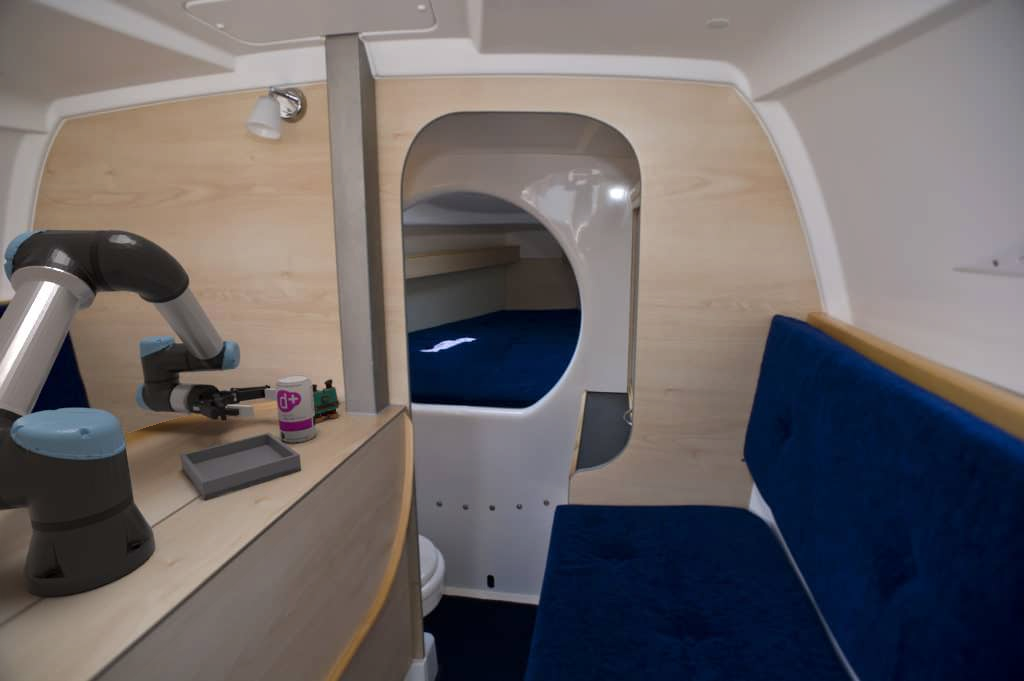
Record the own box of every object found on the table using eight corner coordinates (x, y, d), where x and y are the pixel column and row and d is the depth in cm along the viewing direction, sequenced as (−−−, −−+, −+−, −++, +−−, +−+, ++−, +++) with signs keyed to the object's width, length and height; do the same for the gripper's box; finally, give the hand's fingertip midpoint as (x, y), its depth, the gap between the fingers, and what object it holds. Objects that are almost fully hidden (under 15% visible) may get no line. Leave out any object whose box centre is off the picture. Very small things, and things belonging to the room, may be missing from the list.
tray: (204, 500, 96) (202, 482, 95) (182, 470, 108) (180, 454, 108) (301, 470, 108) (299, 454, 107) (270, 446, 121) (269, 432, 120)
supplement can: (304, 445, 121) (298, 384, 119) (273, 442, 123) (267, 382, 120) (323, 432, 129) (318, 375, 126) (294, 430, 131) (288, 373, 128)
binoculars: (322, 376, 146) (340, 379, 139) (327, 412, 147) (344, 416, 140) (291, 382, 139) (308, 385, 133) (296, 420, 141) (313, 425, 134)
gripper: (233, 398, 143) (302, 402, 139) (157, 430, 119) (237, 436, 115) (230, 372, 142) (300, 375, 138) (152, 399, 117) (233, 404, 113)
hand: (271, 403), depth 126 cm, fingers open, 13 cm apart
